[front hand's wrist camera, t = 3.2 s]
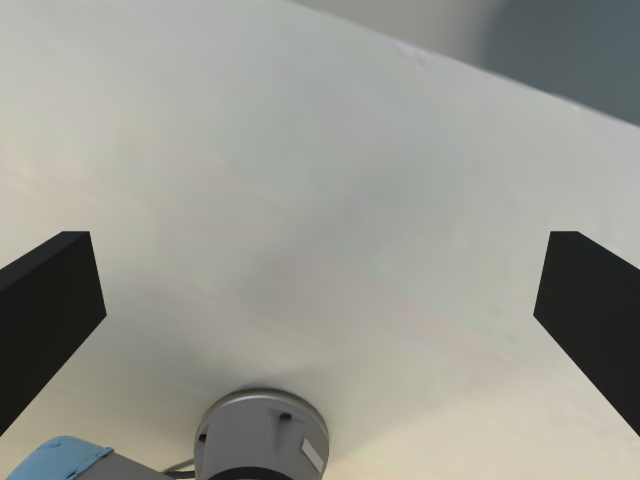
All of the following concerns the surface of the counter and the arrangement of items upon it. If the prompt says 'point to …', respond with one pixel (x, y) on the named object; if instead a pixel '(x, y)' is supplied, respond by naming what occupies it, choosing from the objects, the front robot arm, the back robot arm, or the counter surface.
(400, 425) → the counter surface
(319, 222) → the counter surface
